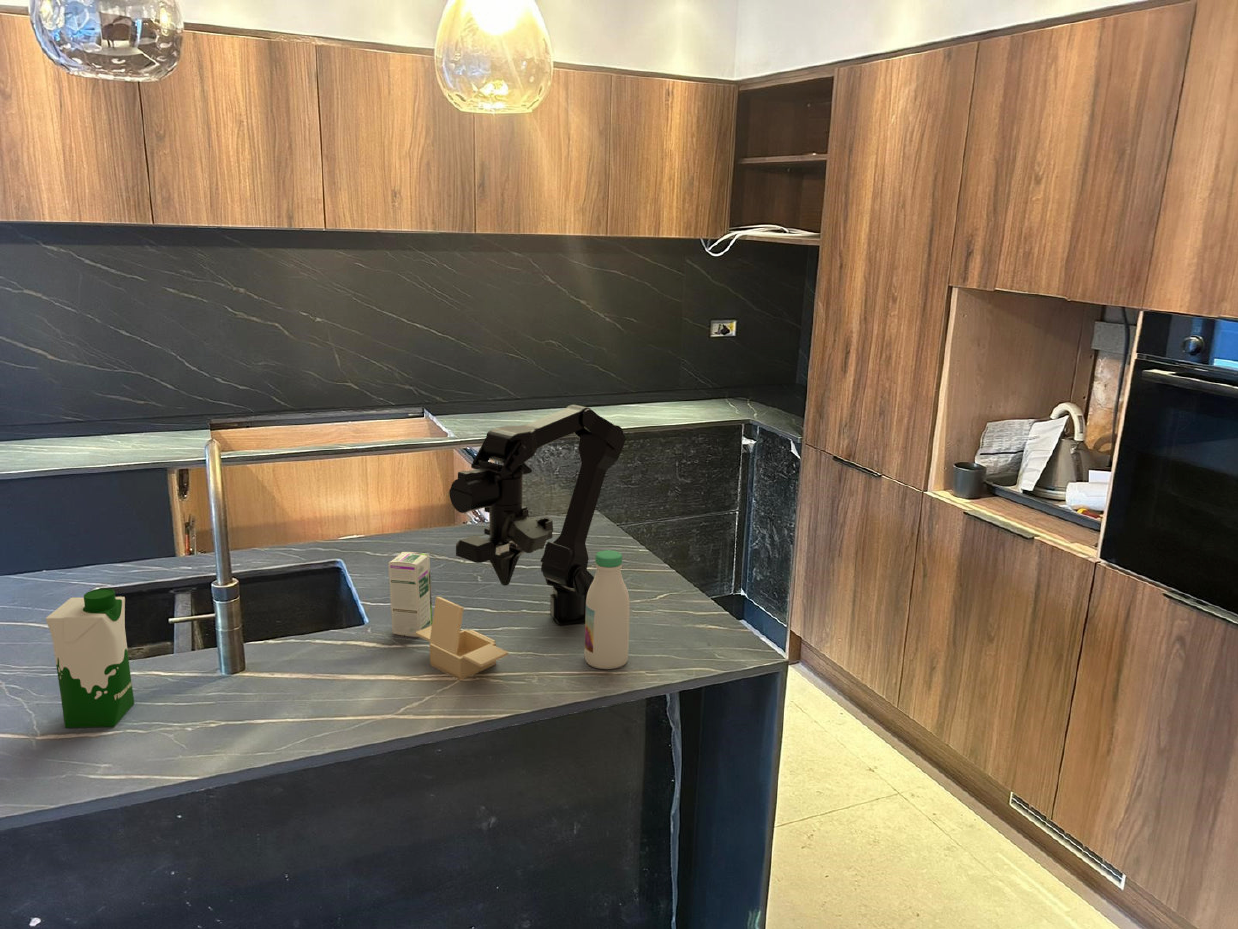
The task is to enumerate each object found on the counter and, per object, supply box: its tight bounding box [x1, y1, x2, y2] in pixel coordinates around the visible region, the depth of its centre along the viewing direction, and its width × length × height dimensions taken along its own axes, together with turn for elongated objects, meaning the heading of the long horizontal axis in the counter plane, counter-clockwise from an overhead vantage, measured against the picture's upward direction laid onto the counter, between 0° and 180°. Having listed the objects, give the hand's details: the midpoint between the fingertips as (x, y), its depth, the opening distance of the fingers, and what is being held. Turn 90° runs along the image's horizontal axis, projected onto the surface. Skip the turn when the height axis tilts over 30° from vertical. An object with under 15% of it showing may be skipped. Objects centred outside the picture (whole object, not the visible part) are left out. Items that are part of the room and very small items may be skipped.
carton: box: [415, 625, 509, 681], centre depth 157 cm, size 9×17×4 cm, turn 50°
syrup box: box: [387, 551, 433, 638], centre depth 168 cm, size 6×6×14 cm
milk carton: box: [45, 588, 135, 729], centre depth 136 cm, size 9×9×20 cm
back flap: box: [428, 596, 465, 654], centre depth 152 cm, size 1×6×8 cm, turn 50°
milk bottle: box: [584, 549, 630, 670], centre depth 158 cm, size 8×8×20 cm
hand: (505, 584), depth 161 cm, fingers closed
